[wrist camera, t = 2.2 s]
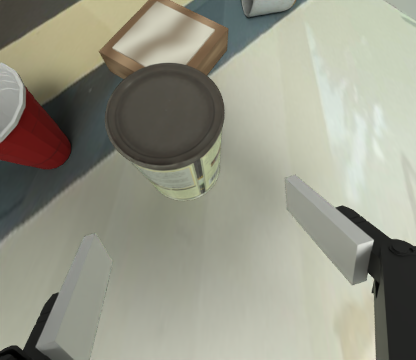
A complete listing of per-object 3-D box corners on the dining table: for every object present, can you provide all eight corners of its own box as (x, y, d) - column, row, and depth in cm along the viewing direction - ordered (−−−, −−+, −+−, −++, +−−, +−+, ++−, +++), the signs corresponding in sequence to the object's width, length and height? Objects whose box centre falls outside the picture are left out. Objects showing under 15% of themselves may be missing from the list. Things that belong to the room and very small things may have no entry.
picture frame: (110, 71, 38) (97, 50, 34) (160, 17, 41) (155, -9, 37) (178, 111, 36) (174, 93, 32) (226, 50, 39) (228, 27, 35)
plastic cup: (9, 134, 35) (-90, 79, 24) (78, 110, 36) (15, 46, 25) (20, 198, 32) (-87, 171, 21) (94, 170, 33) (32, 130, 22)
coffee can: (149, 136, 35) (109, 64, 21) (218, 132, 35) (221, 58, 21) (147, 203, 32) (98, 170, 18) (222, 200, 32) (228, 164, 18)
